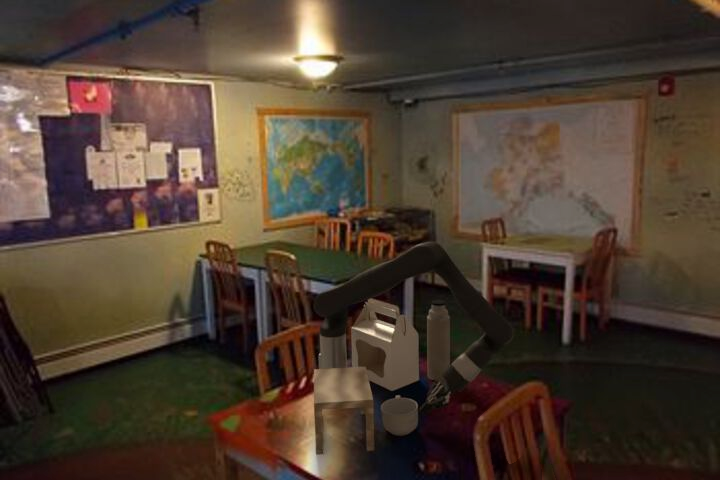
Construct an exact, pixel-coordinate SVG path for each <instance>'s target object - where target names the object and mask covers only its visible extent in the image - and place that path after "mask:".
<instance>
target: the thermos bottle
mask: <svg viewBox="0 0 720 480" xmlns="http://www.w3.org/2000/svg"><path fill="white" fill-rule="evenodd" d="M450 323H451V317H450V315H449V311H448V309H446V301H444V300H442V299H435V300H432V301H431V308H430V309H429V310H428V315H427V317H426V326H427V328H426V329H427V330H426V338H427V339H426V346H427V348H426V357H427V359H426V360H427V362H426V364H427V367H426V370H427V378H428V379H429V380H431V381H434V380H436V381H437V382H440V380H441V379H443V378H444V377H443V375H442V373H443V372H444V371H445V370H446V369H447V368H448V367H449V366H450V365H451V359H450V358H451V356H450V355H451V350H450V349H451V329H450V328H451V324H450Z"/></svg>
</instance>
